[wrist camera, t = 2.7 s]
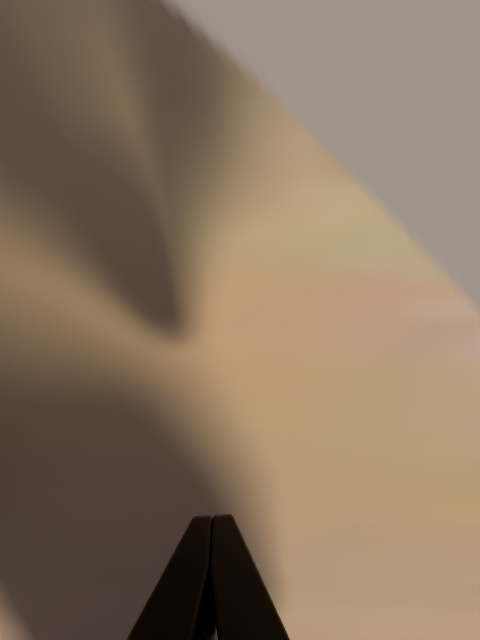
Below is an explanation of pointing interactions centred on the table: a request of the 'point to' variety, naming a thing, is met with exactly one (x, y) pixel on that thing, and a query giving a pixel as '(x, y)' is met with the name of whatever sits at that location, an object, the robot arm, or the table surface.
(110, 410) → the table surface
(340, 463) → the table surface
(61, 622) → the table surface
